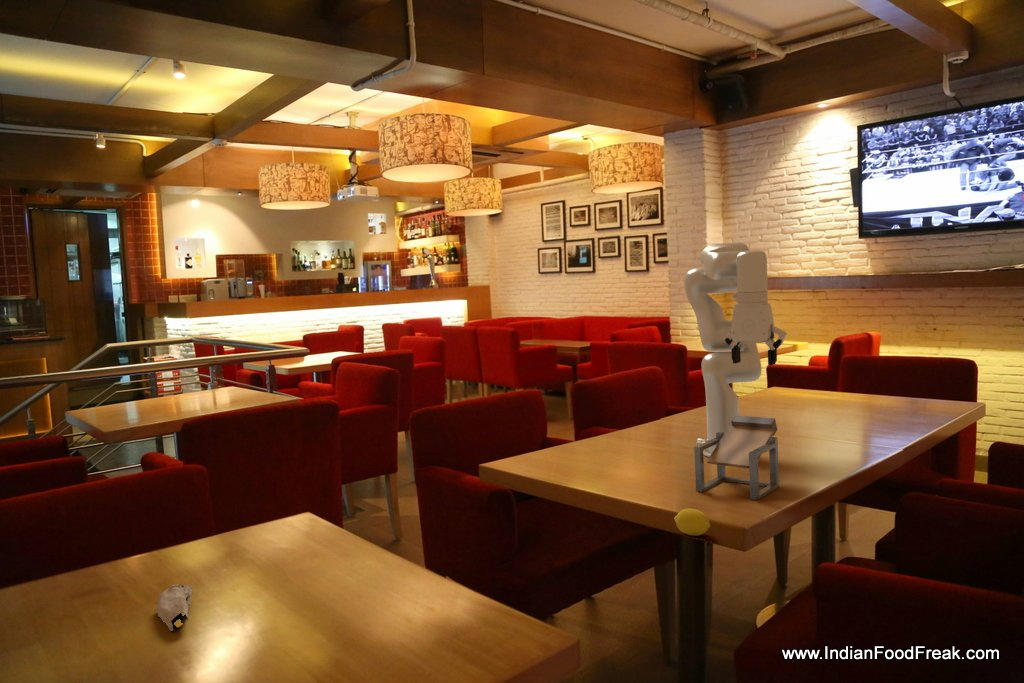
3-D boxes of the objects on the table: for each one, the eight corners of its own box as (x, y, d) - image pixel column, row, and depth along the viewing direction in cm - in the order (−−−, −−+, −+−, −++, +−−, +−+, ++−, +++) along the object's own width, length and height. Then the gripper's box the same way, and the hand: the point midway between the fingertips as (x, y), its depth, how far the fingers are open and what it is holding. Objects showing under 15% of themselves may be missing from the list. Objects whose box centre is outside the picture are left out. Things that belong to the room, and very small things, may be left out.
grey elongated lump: (155, 609, 132) (154, 584, 132) (194, 602, 135) (192, 577, 134) (152, 641, 120) (150, 613, 120) (194, 632, 122) (192, 605, 122)
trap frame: (696, 491, 186) (694, 442, 185) (720, 478, 197) (718, 432, 196) (756, 500, 176) (755, 448, 175) (779, 486, 186) (777, 437, 185)
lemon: (667, 512, 154) (704, 519, 149) (678, 501, 158) (714, 507, 153) (669, 535, 155) (705, 543, 151) (680, 524, 160) (715, 531, 155)
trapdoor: (708, 467, 187) (705, 456, 186) (735, 426, 199) (733, 415, 198) (754, 473, 179) (751, 461, 178) (779, 429, 191) (776, 418, 190)
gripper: (715, 300, 192) (716, 364, 194) (779, 299, 180) (780, 367, 182) (728, 298, 198) (729, 360, 199) (791, 297, 186) (792, 363, 187)
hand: (754, 363), depth 191 cm, fingers open, 9 cm apart
